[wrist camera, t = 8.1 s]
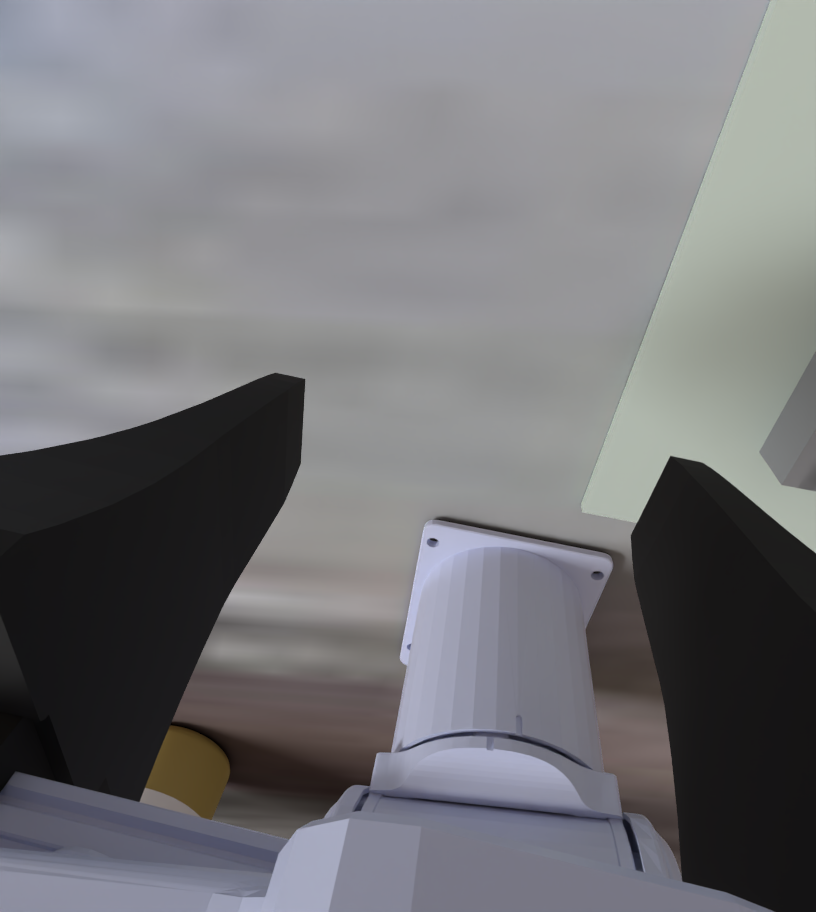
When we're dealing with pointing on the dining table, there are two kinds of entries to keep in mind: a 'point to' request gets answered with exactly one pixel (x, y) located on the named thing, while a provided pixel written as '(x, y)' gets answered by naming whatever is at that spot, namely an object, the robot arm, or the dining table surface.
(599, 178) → the dining table surface
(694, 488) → the robot arm
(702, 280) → the board
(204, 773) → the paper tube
